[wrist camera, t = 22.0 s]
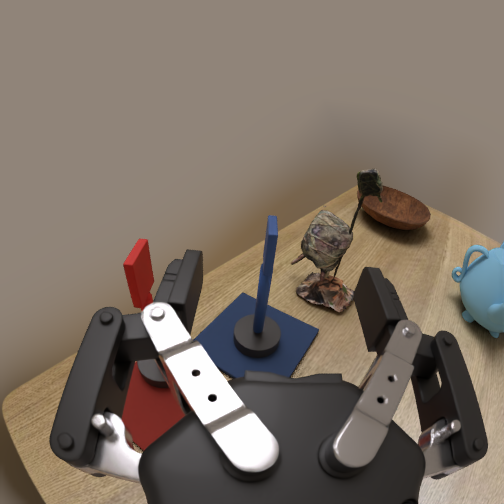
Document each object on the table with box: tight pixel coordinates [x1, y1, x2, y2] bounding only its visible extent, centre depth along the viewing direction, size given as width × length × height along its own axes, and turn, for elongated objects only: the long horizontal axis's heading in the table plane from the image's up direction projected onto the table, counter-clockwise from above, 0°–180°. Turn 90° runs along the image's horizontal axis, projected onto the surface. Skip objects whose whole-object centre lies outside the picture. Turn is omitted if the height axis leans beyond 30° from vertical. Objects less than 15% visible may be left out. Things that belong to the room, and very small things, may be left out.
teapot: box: [452, 242, 504, 338], centre depth 35 cm, size 16×20×14 cm
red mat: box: [122, 362, 184, 450], centre depth 26 cm, size 12×12×1 cm
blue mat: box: [193, 293, 319, 379], centre depth 34 cm, size 12×12×1 cm
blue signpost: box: [233, 215, 281, 358], centre depth 30 cm, size 6×6×16 cm
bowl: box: [357, 186, 431, 230], centre depth 65 cm, size 20×22×5 cm
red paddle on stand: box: [123, 239, 169, 388], centre depth 25 cm, size 6×6×16 cm
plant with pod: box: [291, 169, 383, 312], centre depth 38 cm, size 8×11×20 cm
